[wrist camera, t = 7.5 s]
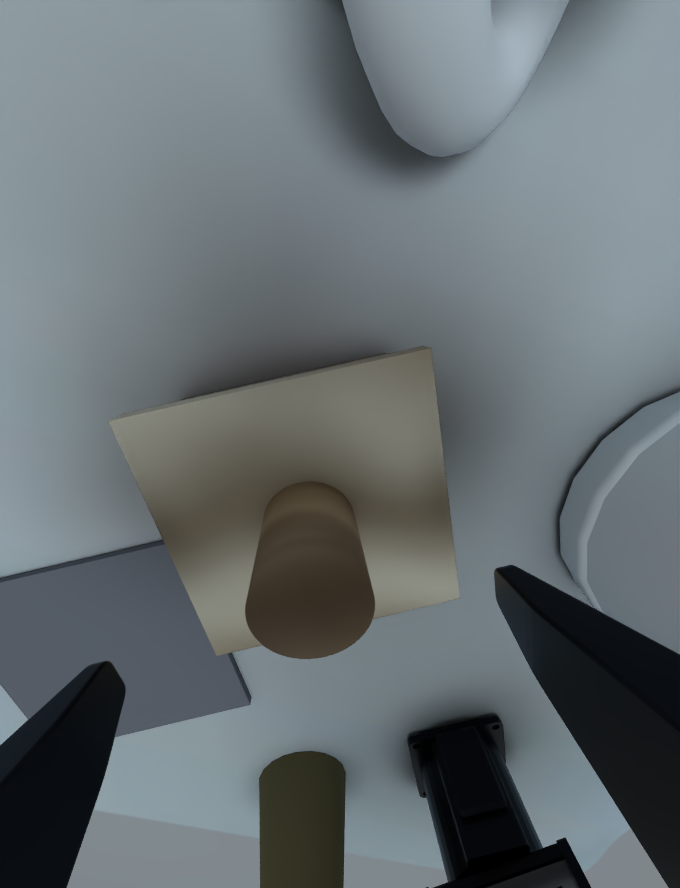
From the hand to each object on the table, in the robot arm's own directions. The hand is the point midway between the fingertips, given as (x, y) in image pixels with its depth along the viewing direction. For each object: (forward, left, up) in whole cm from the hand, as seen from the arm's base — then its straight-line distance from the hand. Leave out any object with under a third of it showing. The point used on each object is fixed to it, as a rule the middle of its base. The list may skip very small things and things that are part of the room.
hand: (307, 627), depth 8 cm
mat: (-8, +13, -9) cm, 18 cm away
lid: (0, 0, -5) cm, 5 cm away
